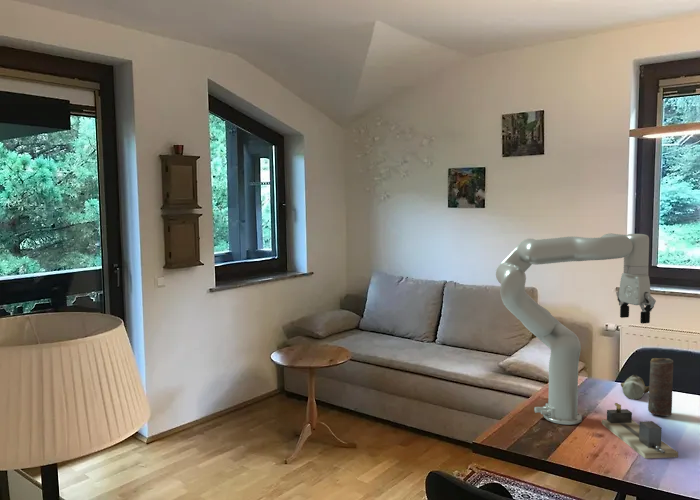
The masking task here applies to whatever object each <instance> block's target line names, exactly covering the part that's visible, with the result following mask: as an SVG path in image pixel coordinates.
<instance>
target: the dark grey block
mask: <svg viewBox="0 0 700 500" xmlns="http://www.w3.org/2000/svg"><path fill="white" fill-rule="evenodd" d="M662 432H663V427H662V426H660V425H659V424H657V423H656V422H654V421H652V420H651V421H650V420H648V421H647V420H646V421H643V420H641V421H639V441H641V442H642V443H643V444H644V445H646V446H647V447H655V448H656V449H657V450H659V451H660V452H661V453H665V451H664V450H663V449H662V448H660V447H661V441H662V438H663V437H662V434H663V433H662Z"/></svg>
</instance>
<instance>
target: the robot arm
mask: <svg viewBox="0 0 700 500" xmlns="http://www.w3.org/2000/svg"><path fill="white" fill-rule="evenodd" d="M649 252H650V237H649V235H647V234H643V233H629V234H620V233H619V234H618V233H611V232H608V233H605V234H603V235H602V236H599V237H583V236H563V237H562V236H561V237H552V238H541V239H534V238H526V239H524V240H522V241H521V242H520V243H519V244H517V246H516V247H515V248H514V249H512V251H511V252H510V253H509V254H508V255H507V256H506V257H505V258H504V259H503V261H501V263H500V264H499V265H498V267H496V270H495V271H496V272H495V276H496V281H498V283H500V290H499V294H500V299H501V301H502V304H503V306H504V307H505V308H506V309H507V310H508V311H509V312H510V313H511V314H512V315H513V316H514V317H515V318H516V319H517V320H518V321H519V322H521V323H522V325H523V326H524V328H526V329H527V330H528V331H529V332H530V333H531V334H533V335H534V336H535V337H536V338H537V339H538V340H540V341H541V342H542V343H543V344H544V345H545V346H546V347H548V348H549V349H550V357H549V361H548V363H549V364H548V401H547V402H546V403H545V405H542V406H534V413H535V414H536V413H540V414H541V415H543V418H544V419H545V420H546V421H548V422H551V423H554V424H557V425H558V424H559V425H567V426H569V425H570V426H571V425H578V424H580V423H582V420H583V416H582V415H581V414H580V412H578V403H579V402H578V400H579V399H578V397H579V396H578V395H579V390H578V389H579V388H578V387H579V362H580V356H581V350H582V349H581V348H582V347H581V345H582V344H581V341H580V338H579V337H578V335H577V334H576V333H575V332H574V331H573V330H572V329H571V330H570V329H569V328H568V327H567V326H565V325H564V324H562V322H560V321H559V320H558V319H557V318H556V317H554V316H553V314H552V313H551V312H550V311H549V310H547V309H546V308H545V307H543V306H542V305H541V304H539V303H538V301H537V302H536V301H535V300H534V299H533V297H531V295H530V294H528V293H527V292H526V282H527V281H526V280H527V276H526V273H525V272H527V271H528V270H529V268H530V267H531V266H532V265H549V264H556V263H557V264H558V263H569V262H570V263H571V262H583V261H584V262H587V261H588V262H589V261H605V260H614V259H615V260H617V259H622V258H623V273H622V274H621V277H620V281H619V288H618V289H619V290H618V291H616V292H615V293H616V294H615V296H616V298H617V302H618V305H619V306H620V307H619V317H620V318H621V319H623V318H624V319H625V318H629V317H630V306H629V305H633V306H639V307H640V309H641V311H640V319H639V321H640V324H650V322H651V312H652V310H653V309H654V308H655V307H654V306H655V305H656V302H657V301H656V299H655V298H654V297H653V296H652V295H651V282H650V281H651V280H650V276H649V260H650V259H649V258H650V257H649V255H650V253H649Z"/></svg>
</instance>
